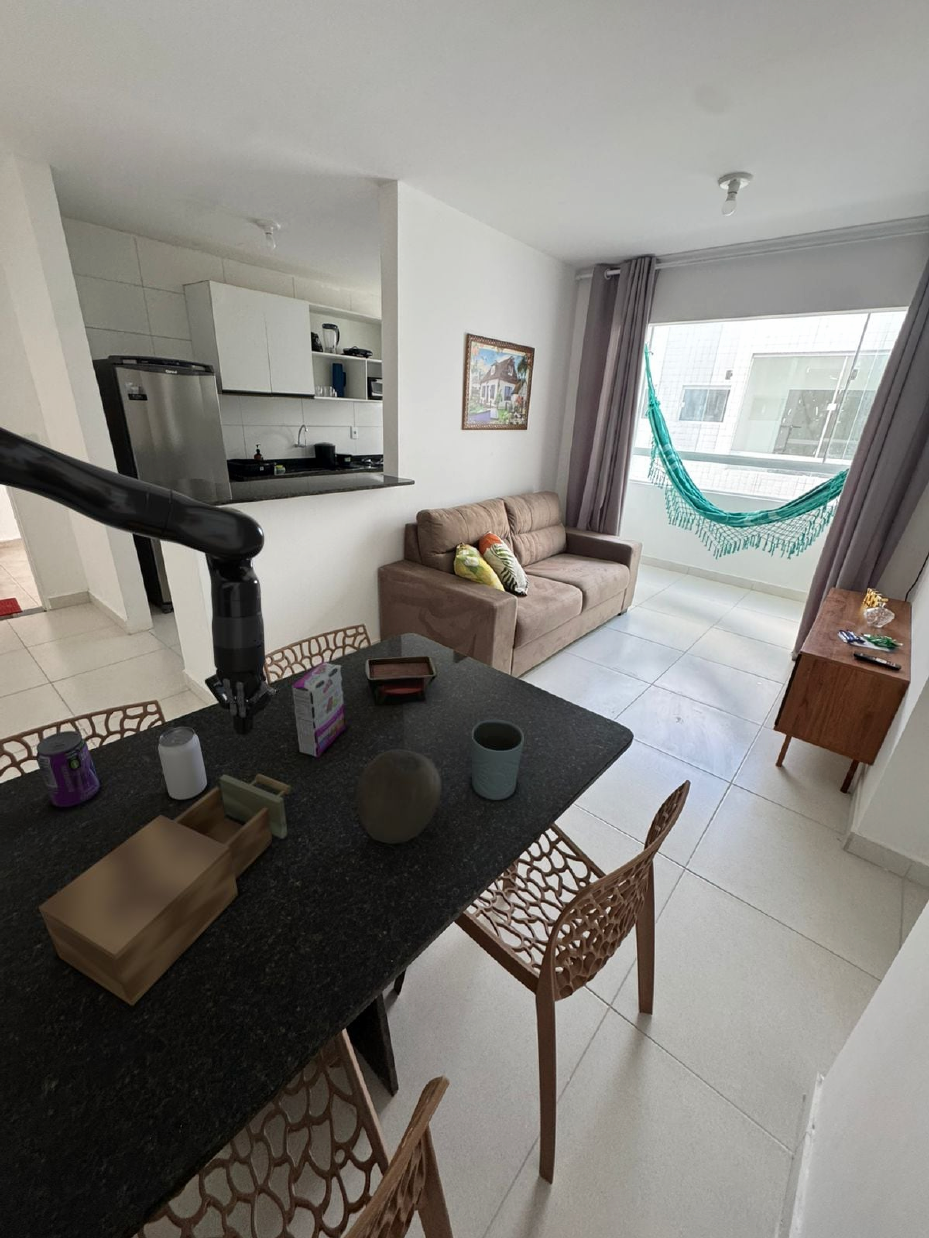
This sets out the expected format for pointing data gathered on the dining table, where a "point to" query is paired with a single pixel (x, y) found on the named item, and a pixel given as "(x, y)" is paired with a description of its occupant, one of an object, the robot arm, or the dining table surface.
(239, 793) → the drawer
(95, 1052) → the dining table surface
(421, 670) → the baking dish
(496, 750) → the teal cup
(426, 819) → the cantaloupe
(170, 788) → the can
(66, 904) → the cabinet
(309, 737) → the candy bar box
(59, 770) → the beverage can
